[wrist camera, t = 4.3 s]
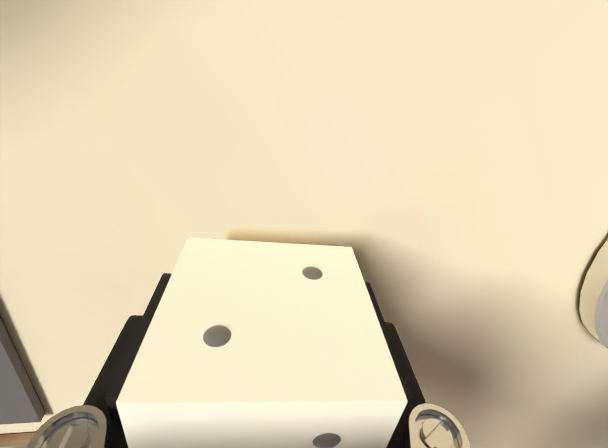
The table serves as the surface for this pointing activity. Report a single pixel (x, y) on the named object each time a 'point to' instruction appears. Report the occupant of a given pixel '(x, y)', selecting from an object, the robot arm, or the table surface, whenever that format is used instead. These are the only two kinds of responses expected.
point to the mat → (16, 386)
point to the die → (262, 353)
